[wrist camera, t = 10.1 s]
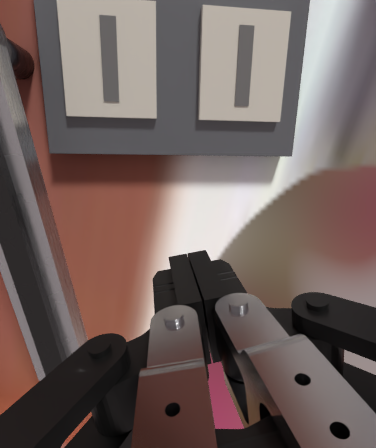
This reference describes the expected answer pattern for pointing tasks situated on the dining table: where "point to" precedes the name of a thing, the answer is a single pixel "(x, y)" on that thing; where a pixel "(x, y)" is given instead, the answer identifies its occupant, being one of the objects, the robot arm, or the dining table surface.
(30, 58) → the pivot post
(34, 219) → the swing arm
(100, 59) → the label panel
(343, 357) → the robot arm
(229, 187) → the dining table surface
